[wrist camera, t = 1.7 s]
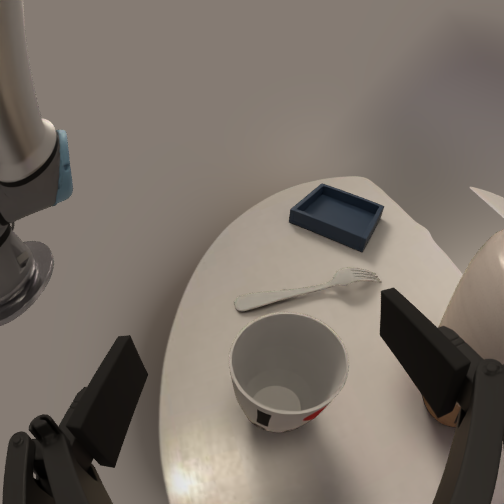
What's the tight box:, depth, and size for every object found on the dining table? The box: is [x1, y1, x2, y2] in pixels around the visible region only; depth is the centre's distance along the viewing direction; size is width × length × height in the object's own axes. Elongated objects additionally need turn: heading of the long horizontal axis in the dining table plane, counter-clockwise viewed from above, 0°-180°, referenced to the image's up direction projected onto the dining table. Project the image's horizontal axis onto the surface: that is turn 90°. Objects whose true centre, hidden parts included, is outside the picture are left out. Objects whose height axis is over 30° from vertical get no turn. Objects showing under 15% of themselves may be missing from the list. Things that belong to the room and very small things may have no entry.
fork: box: [234, 267, 381, 311], centre depth 36 cm, size 3×21×3 cm, turn 104°
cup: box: [229, 312, 349, 432], centre depth 21 cm, size 8×8×10 cm
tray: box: [289, 184, 384, 252], centre depth 49 cm, size 14×14×3 cm
